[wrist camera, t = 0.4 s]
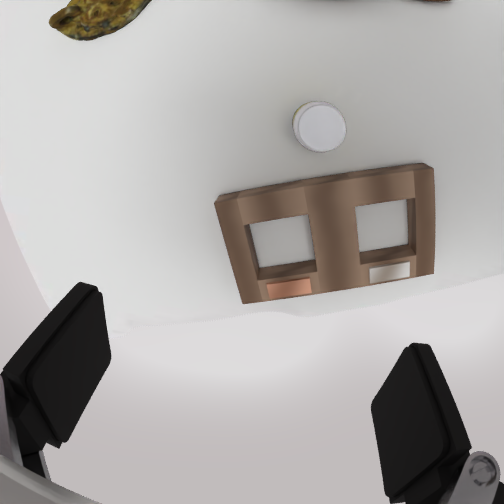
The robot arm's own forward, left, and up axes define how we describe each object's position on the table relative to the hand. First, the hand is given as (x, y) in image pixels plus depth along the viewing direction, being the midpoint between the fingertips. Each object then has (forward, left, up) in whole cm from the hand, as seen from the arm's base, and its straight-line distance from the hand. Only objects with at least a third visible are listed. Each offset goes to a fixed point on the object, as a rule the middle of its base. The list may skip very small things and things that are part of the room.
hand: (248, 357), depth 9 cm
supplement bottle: (-5, -4, -29) cm, 29 cm away
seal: (+15, -26, -29) cm, 42 cm away
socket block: (-5, +8, -28) cm, 30 cm away
